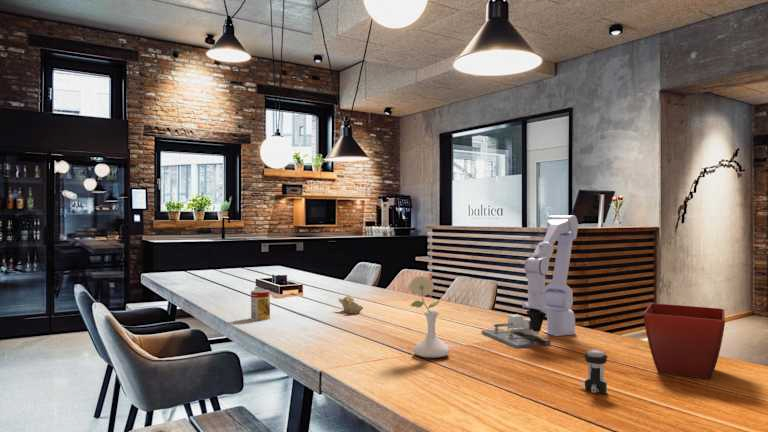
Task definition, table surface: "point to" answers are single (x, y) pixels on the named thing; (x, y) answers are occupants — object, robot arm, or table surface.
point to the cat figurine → (350, 305)
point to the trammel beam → (534, 338)
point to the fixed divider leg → (511, 322)
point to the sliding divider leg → (524, 328)
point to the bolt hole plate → (509, 338)
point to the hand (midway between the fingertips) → (536, 331)
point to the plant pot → (684, 338)
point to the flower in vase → (431, 343)
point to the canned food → (260, 305)
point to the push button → (595, 372)
